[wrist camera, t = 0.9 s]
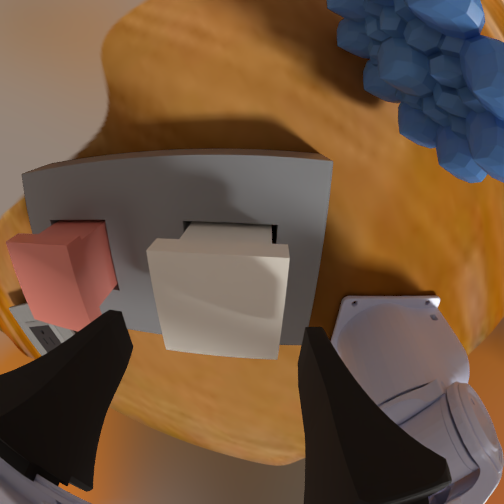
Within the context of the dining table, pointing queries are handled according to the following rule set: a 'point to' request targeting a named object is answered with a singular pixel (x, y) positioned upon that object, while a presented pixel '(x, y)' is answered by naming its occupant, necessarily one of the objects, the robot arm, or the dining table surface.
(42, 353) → the electrical outlet
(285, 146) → the dining table surface
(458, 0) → the grapes
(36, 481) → the robot arm
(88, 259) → the red plunger
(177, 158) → the panel
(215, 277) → the white plunger
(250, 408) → the dining table surface
